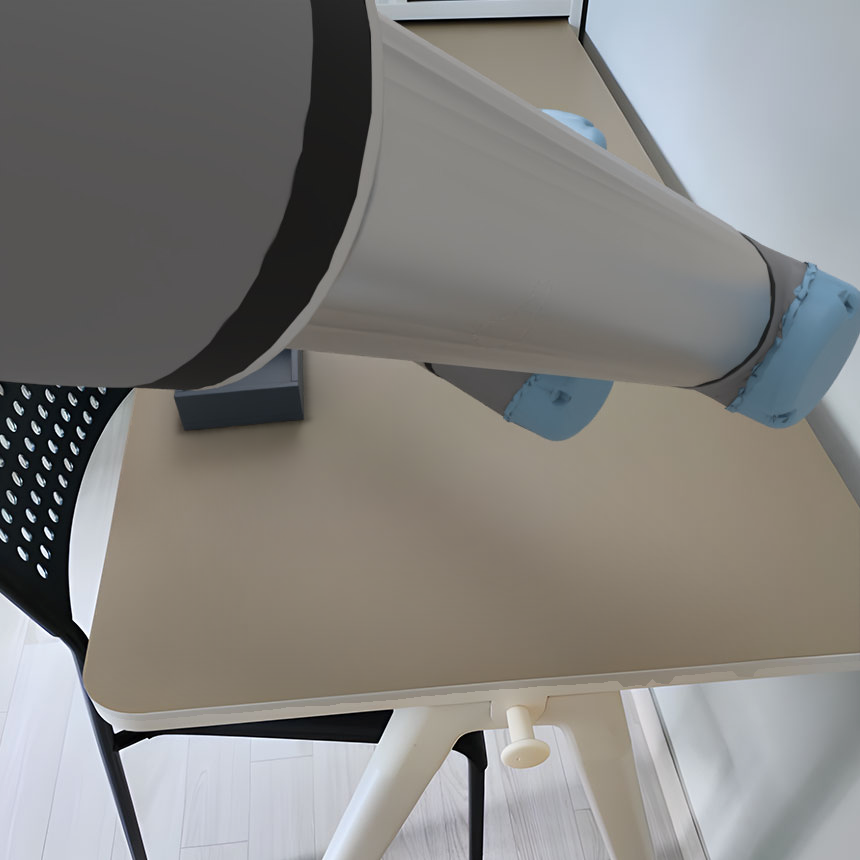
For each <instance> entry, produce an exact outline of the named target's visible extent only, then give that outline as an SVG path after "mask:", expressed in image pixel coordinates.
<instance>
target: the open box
mask: <svg viewBox="0 0 860 860" xmlns="http://www.w3.org/2000/svg"><path fill="white" fill-rule="evenodd" d="M303 353H304V350H296V349H286V348H285V349H284V350H283V351H281V352H280V353H279V354H278V355H276V356H275V357H274V358H273V359H271V360H270V361H269V362H268V363H266V364H265V365H264V366H263V367H262V368H260V369H258V370H257V371H255V372H253V373H251V374H249V375H248V376H246V377H244V378H242V379H240V380H238V381H236V382H233V383H230V384H227V385H224V386H221V387H219V388H212V389H204V390H196V391H194V390H174V394H173V399H174V402H175V405H176V409H177V412H178V416H179V418H180V421H181V426H182V428H183V431H194V430H195V431H197V430H204V429H205V430H206V429H216V428H226V427H236V426H246V425H247V426H248V425H257V424H268V423H269V424H271V423H280V422H291V421H301V420H304V419H305V409H304V408H305V407H304V406H305V404H304V402H305V401H304V355H303Z"/></svg>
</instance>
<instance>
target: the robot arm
mask: <svg viewBox="0 0 860 860" xmlns="http://www.w3.org/2000/svg"><path fill="white" fill-rule="evenodd" d="M859 337H860V290H859V289H858V288H857V287H856V286H855V285H852V284H851V283H849V282H848V281H847V282H846V281H845V280H843V279H840V278H838V277H836V276H834V275H832V274H830V273H829V272H826V271H824V270H821V269H819V268H818V265H817V264H815V263H814V262H813V263H812V262H810V261H801V260H798V259H796V258H793V257H791V256H789V255H786V254H784V253H782V252H779V251H777V250H775V249H773V248H770V247H768V246H766V245H763V244H762V243H760V242H759V241H757V240H755V239H754V238H752V237H750V236H748V235H747V234H746V233H743V232H742V231H740V230H737V229H736V228H735V227H734V226H733V225H731V224H729V223H728V222H726V221H724V220H723V219H721V218H720V217H718V216H716V215H715V214H713V213H711V212H709V211H708V210H706V209H704V208H703V207H701V206H699V205H698V204H696V203H694V202H693V201H692V200H690V199H688V198H686V197H685V196H683V195H682V194H680V193H678V192H676V191H675V190H673V189H671V188H670V187H668V186H667V185H666V184H664V183H661V182H660V181H658V180H657V179H655V178H654V177H652V176H650V175H648V174H647V173H645V172H643V171H642V170H640V169H639V168H638V167H636V166H634V165H632V164H630V163H629V162H628V161H626V160H623V159H622V158H621V157H619V156H617V155H615V154H614V153H612V152H610V151H609V150H608V144H607V139H606V137H605V134H604V133H603V132H602V131H601V130H600V129H599V128H597V127H595V125H594V123H593V122H592V121H590V120H589V119H588V118H585V117H583V116H581V115H579V114H575V113H572V112H570V111H569V112H568V111H564V110H558V109H549V108H538V107H537V106H535V105H533V104H531V103H530V102H528V101H527V100H524V99H523V98H522V97H520V96H519V95H516V94H515V93H513V92H512V91H510V90H508V89H507V88H505V87H504V86H502V85H500V84H499V83H497V82H496V81H493V80H492V79H491V78H489V77H487V76H485V75H484V74H482V73H480V72H479V71H477V70H476V69H474V68H472V67H470V66H469V65H467V64H466V63H464V62H463V61H461V60H459V59H458V58H456V57H454V56H452V55H451V54H449V53H448V52H446V51H444V50H442V49H441V48H439V47H438V46H436V45H435V44H433V43H431V42H430V41H428V40H426V39H425V38H423V37H421V36H419V35H418V34H416V33H414V32H413V31H412V30H409V29H408V28H407V27H404V26H403V25H401V24H400V23H398V22H396V21H395V20H393V19H392V18H390V17H388V16H387V15H385V14H383V13H381V12H380V11H379V10H378V9H377V5H376V1H375V0H0V382H9V383H18V384H19V383H22V384H33V385H43V386H44V385H46V386H61V387H80V388H110V389H111V388H112V389H122V388H123V389H124V388H127V389H128V388H129V389H132V388H133V389H148V390H149V389H151V390H172V391H175V390H194V391H196V390H204V389H212V388H219V387H221V386H224V385H227V384H230V383H233V382H236V381H238V380H240V379H242V378H244V377H246V376H248V375H249V374H251V373H253V372H255V371H257V370H258V369H260V368H262V367H263V366H264V365H265V364H266V363H268V362H269V361H270V360H271V359H273V358H274V357H275V356H276V355H278V354H279V353H280V352H281V351H283V350H284V349H285V348H286V349H296V350H303V351H305V352H306V351H307V352H316V353H328V354H337V355H347V356H357V357H365V358H366V357H367V358H375V359H376V358H378V359H385V360H386V359H387V360H398V361H406V362H407V361H408V362H412V363H414V364H416V365H417V366H419V367H421V368H423V369H424V370H426V371H428V372H429V373H431V374H433V375H434V376H436V377H437V378H440V379H442V380H444V381H446V382H448V383H449V384H450V385H452V386H454V387H455V388H457V389H458V390H460V391H462V392H464V393H465V394H467V395H468V396H470V397H472V398H473V399H474V400H477V401H478V402H480V403H481V404H483V405H484V406H486V407H488V408H489V409H490V410H492V411H493V412H495V413H497V414H498V415H500V416H501V417H502V418H503V420H504V421H505V422H507V423H512V424H514V425H516V426H518V427H521V428H523V429H524V430H527V431H529V432H531V433H533V434H535V435H537V436H539V437H541V438H542V439H545V440H548V441H551V442H562V441H566V440H570V439H571V438H573V437H574V436H576V435H578V434H579V433H580V432H581V431H582V430H583V429H585V428H586V427H587V426H588V425H590V424H591V423H592V421H593V420H594V419H595V417H596V416H597V415H598V413H599V412H600V410H601V409H602V407H603V406H604V404H605V403H606V401H607V399H608V397H609V395H610V393H611V391H612V389H613V387H614V383H615V382H621V383H628V384H638V385H639V384H640V385H649V386H650V385H651V386H658V387H659V386H660V387H669V388H670V387H671V388H678V389H683V390H691V391H695V392H698V393H700V394H702V395H704V396H707V397H708V398H711V399H712V400H714V401H716V402H717V403H719V404H721V405H723V406H725V407H724V410H726V411H728V412H730V413H732V414H734V413H735V414H736V413H738V414H740V415H742V416H744V417H746V418H749V419H751V420H752V421H755V422H757V423H759V424H761V425H763V426H766V427H768V428H771V429H775V430H776V429H777V430H780V429H781V430H782V429H787V428H789V427H792V426H794V425H796V424H798V423H799V422H801V421H802V420H804V419H805V417H807V416H808V415H809V414H810V413H811V412H812V411H814V409H815V408H816V406H817V405H818V404H819V403H821V400H822V399H823V398H824V397H825V395H827V393H828V391H829V390H830V389H831V387H832V385H834V383H835V381H836V380H837V378H838V376H839V375H840V373H841V371H842V370H843V368H844V366H846V363H847V361H848V359H849V358H850V356H851V354H852V353H853V350H854V348H855V346H856V344H857V342H858V339H859Z"/></svg>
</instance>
